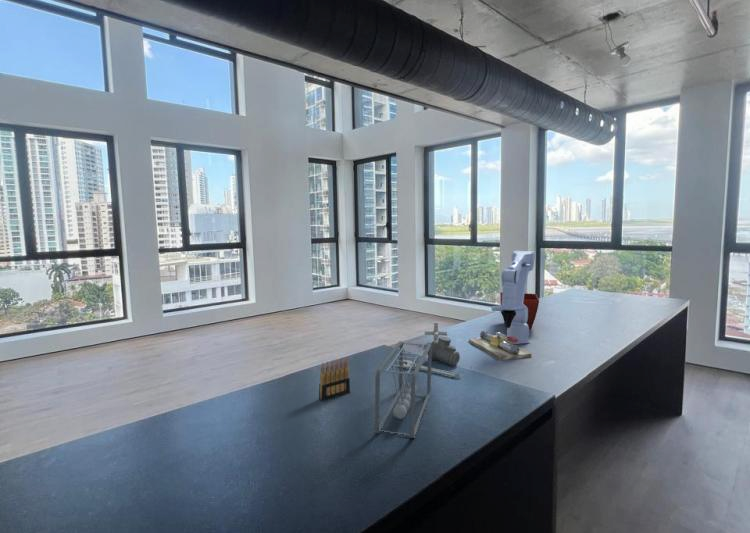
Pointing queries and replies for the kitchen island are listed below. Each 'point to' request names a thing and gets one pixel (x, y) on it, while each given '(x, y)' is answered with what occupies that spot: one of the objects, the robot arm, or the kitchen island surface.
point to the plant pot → (529, 307)
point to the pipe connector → (435, 332)
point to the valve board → (498, 350)
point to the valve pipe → (499, 342)
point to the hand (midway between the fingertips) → (507, 327)
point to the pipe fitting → (444, 351)
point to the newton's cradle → (409, 392)
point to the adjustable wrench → (431, 369)
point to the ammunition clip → (334, 380)
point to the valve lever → (507, 337)
